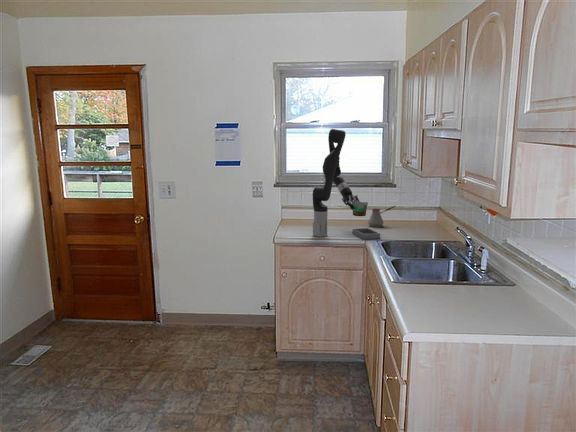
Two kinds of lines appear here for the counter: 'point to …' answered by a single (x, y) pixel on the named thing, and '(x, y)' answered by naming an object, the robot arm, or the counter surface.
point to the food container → (359, 208)
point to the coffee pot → (377, 218)
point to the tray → (366, 233)
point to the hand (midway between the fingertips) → (356, 208)
